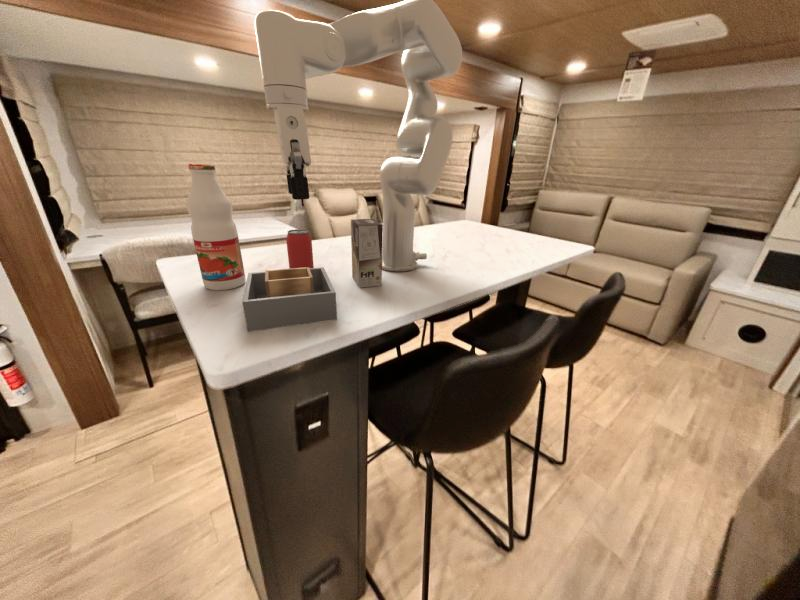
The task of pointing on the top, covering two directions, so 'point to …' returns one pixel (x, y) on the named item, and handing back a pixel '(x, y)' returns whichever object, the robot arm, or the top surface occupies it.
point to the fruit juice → (214, 231)
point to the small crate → (288, 282)
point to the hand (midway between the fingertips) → (298, 196)
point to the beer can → (299, 249)
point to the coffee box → (366, 252)
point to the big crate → (288, 303)
